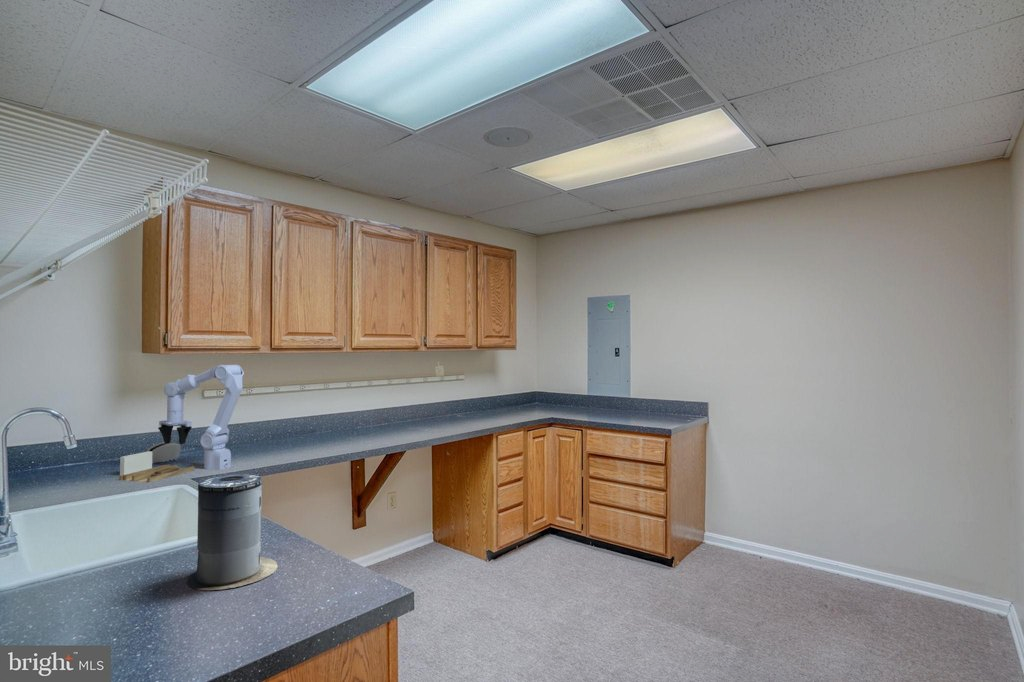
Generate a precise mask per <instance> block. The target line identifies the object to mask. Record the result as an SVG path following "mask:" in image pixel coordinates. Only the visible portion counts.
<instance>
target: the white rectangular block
mask: <svg viewBox="0 0 1024 682" xmlns="http://www.w3.org/2000/svg"><path fill="white" fill-rule="evenodd" d="M146 451H147V450H146ZM146 451H144V452H138V453H134V454H129V455H123V456H120V457H119V459H120V460H119V476H121V475H126V474H130V473H134V472H138V471H142V470H147V469H151V468H153V464H152V451H147V452H146Z"/></svg>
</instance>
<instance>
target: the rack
mask: <svg viewBox="0 0 1024 682" xmlns="http://www.w3.org/2000/svg"><path fill="white" fill-rule="evenodd" d="M173 467H175V468H179V465H178V464H175V465H171V464H164V465H160V466H155V467H152V468H151V469H147V470H142V471H138V472H134V473H130V474H126V475H119V476H118V480H119V481H126V482H139V483H141V482H142V483H153V482H155V481H160V480H163V479H166V478H167V479H168V478H171V477H175V476H179V475H183V474H186V473H189V472H194V471H195V466H193V465H192V466H189V467H185V468H181V469H180V470H177V471H173V472H169V473H165V474H161V475H157V476H153V477H151V474H154V472H156V471H160V470H164V469H168V468H173Z"/></svg>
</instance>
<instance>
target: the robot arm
mask: <svg viewBox="0 0 1024 682" xmlns="http://www.w3.org/2000/svg"><path fill="white" fill-rule="evenodd" d="M244 375H245V372H244V370H243V368H242V366H240V365H239V364H220V365H219V364H218V365H215V366H213V367H211V368H210V369H207V370H205V371H203V372H201V373H199V374H198V375H195V374H187V375H186V376H185V377H184V378H181V379H179V378H178V379H176V381H174V382H172V381H171V382H170V381H169V382H168V383H166V384H165V385H164V387H163V392H164V394H165V395H166V399H167V404H166V405H167V407H166V412H167V413H166V420H159V421H158V430H159V432H160V433H161V434H160V435H162V439H163V442H164V443H170V442H172V441H171V440H172V432H173V428H174V427H176V431H177V433H178V444H179V445H183V444H186V440H187V437H188V435H189V433H190V431H191V430H192V421H189V420H188V421H187V420H184V400H185V395H186V394H187V392H189V391H192V390H195V389H197V388H198V387H200V385H201V383H204V382H207V381H209V380H212V379H217V380H218V381H219V382H220V383H221V384H222V386H224V388H225V393H224V395H223V397H222V400H221V402H220V405H219V407H218V410H217V412H216V415H215V417H214V420H213V422H212V424H211V425H210V426H209V427H207V428H206V430H205V432H204V433H203V434H202V435H201V437H200V441H199V442H200V445H201V447H202V448H203V450H204V455H203V456H204V457H203V461H204V464H203V466H204V467H203V469H204V470H208V471H211V470H215V471H217V470H218V471H221V470H222V471H223V470H224V469H228V468H231V466H232V464H231V463H232V453H231V450H230V449H229V448H226V444H227V443H228V442H229V434H230V429H229V428H228V426H229V423H230V421H231V419H232V416H233V412H234V411H235V408H236V405H237V403H238V400H239V398H240V396H241V393H242V390H243V378H244Z"/></svg>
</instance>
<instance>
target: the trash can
mask: <svg viewBox="0 0 1024 682" xmlns="http://www.w3.org/2000/svg"><path fill="white" fill-rule="evenodd" d="M263 483H264V479H263V477H262V476H261V475H258V474H231V475H221V476H216V477H211V478H207V479H204V480H202V481H199V483H198V484H197V492H198V493H197V495H198V497H197V541H196V543H197V544H196V546H197V562H196V570H195V571H194V572H192V573H191V574H190V575H189V576H188V577H187V579H186V585H187V586H188V587H189V588H192V589H194V590H199V591H214V590H215V591H217V590H228V589H233V588H237V587H243V586H246V585H250V584H252V583H256V582H258V581H261V580H263V579H266V578H267V577H269V576H271V575H272V574H273V573H275V572H276V571H277V569H278V563H277V561H275V560H274V559H272V558H269V557H264V556H261V544H262V543H261V541H262V540H261V539H262V538H261V535H262V533H261V532H262V528H261V525H262V496H263V495H262V487H263V486H262V485H263Z"/></svg>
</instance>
